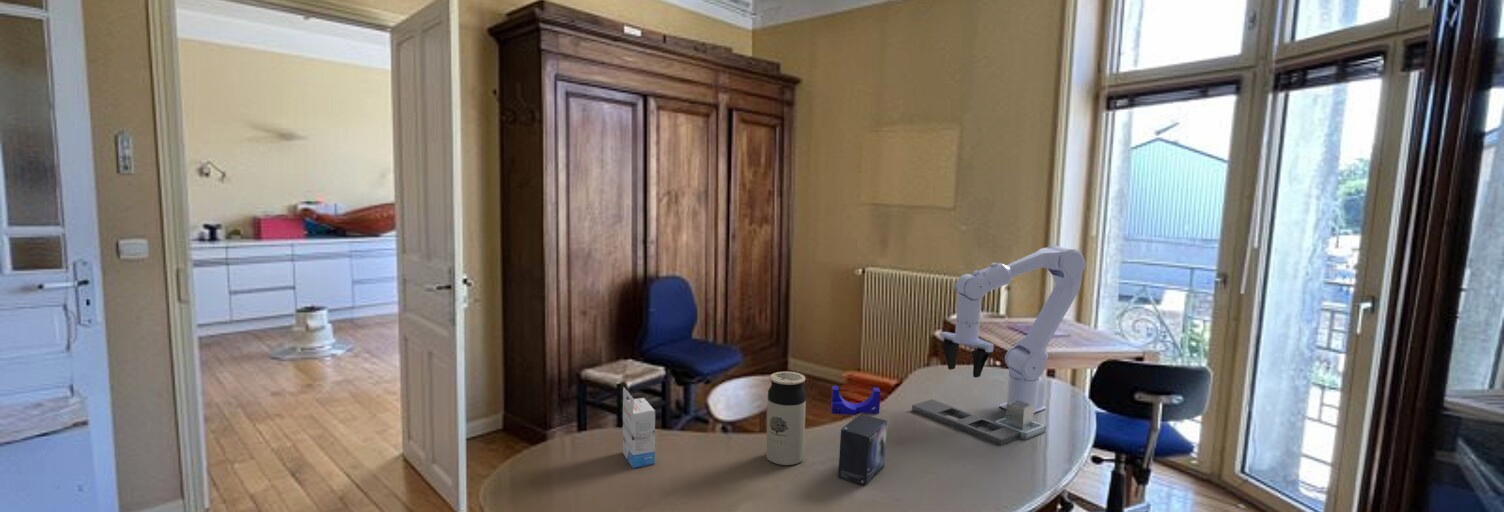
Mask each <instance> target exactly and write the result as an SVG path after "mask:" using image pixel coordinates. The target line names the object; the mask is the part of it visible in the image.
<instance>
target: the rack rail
mask: <svg viewBox="0 0 1504 512" xmlns="http://www.w3.org/2000/svg"><path fill="white" fill-rule="evenodd" d="M911 411H913V412H914V413H915V412H916V413H917V414H920V415H923V416H925V417H928V418H930V419H933V420H936V421H938V422H941V423H943V424H946V425H948V426H950V427H953V428H956V429H958V430H961V431H963V432H965V433H969V434H971V435H973V436H975V437H979V438H981V439H983V440H987V441H989V442H992V443H994V444H996V445H999V446H1004V445H1007V444H1009V443H1011V442H1013V441H1016V440H1019V439H1022V438H1021V432H1019V431H1016V430H1013V429H1011V428H1008V427H1005V426H1002V425H1000V424H997V423H994V421H993V420H990V419H987V418H984V417H982V416H978V415H976V414H974V413H971V412H968V411H965V410H962V409H960V408H957V407H954V406H951V405H949V404H945V403H943V402H941V401H937V400H935V399H929V400H925V401H922V402H918V403H914V404H912V405H911ZM951 414H952V415H955V416H958V417H960V419H957V420H956V419H954V418H951V417H950V416H949V417H948V416H947V415H951ZM979 426H983V427H986V428H989V429H991V430H992V431H990V432H988V431H986V430H982V429H980V428H977V427H979Z"/></svg>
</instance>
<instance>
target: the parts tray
mask: <svg viewBox="0 0 1504 512" xmlns="http://www.w3.org/2000/svg"><path fill="white" fill-rule="evenodd" d="M1005 419H1006V416H1005V417H1003V418H1000V419H997V420H994V421H993V422H994V423H997V424H1000V425H1002V426H1005V427H1008V428H1011V429H1013V430H1016V431H1019V432H1021V438H1020V439H1022V440H1025V441H1026V440H1028V439H1031V438H1033V437H1036V436H1039V435H1041V434H1044V433H1046V430H1047V425H1045V424H1042V423H1040V422H1037V421H1035V420H1033V427H1032V429H1031V430H1029V431H1026V432H1024V431H1021V430H1019V429H1016V428H1013V427H1010V426H1008V425H1005Z"/></svg>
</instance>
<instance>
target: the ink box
mask: <svg viewBox="0 0 1504 512" xmlns="http://www.w3.org/2000/svg"><path fill="white" fill-rule="evenodd" d="M655 427H656V409H654V408H653V406H651V404H650V403H649V402H648V401H647V399H646V398H644V397H641V398H640V397H639V398H634V397H633V396H632V395H631V393H630V392H629V391H628V390H627V389H626V388H625V387H623V389H622V454H623V455H624V457H625V458H626V460H627V462H628V463H629V464H630V466H631V468H632V469H633V468H634V469H636V468H640V467H645V466H650V465H651V466H652V465H655V463H656V442H655V441H656V439H655V438H656V435H655V434H656V433H655V432H656V428H655Z"/></svg>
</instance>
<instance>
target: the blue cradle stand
mask: <svg viewBox="0 0 1504 512" xmlns="http://www.w3.org/2000/svg"><path fill="white" fill-rule="evenodd" d="M880 404H881V390H880V387H872V391H871V393H870V394H869V397H868V398H867V399H866V400H864V401H862V402H859V403H858V402H857V403H855V402H853V403H852V402H849V401H847V400H845V399H844V398H843V397H842V396H841V394H840V390H839V386H838V385H832V386H831V404H830V407H831V414H833V415H848V416H849V415H850V416H851V415H852V416H857V414H858V413H859V414H876V415H877V414H878V415H879V414H880V407H881V406H880Z"/></svg>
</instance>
